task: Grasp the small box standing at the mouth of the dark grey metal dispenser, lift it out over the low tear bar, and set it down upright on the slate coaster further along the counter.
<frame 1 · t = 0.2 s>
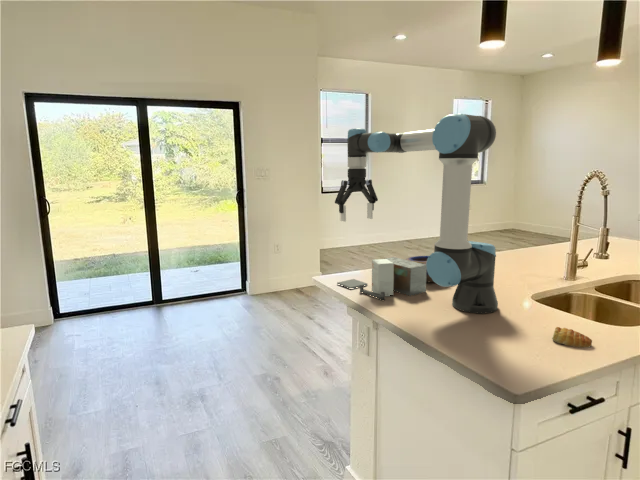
hand: (356, 219, 176), 27 cm above the counter, fingers open, 13 cm apart
small box: (382, 294, 166), on the counter
dispenser: (401, 288, 172), on the counter
bowl: (425, 280, 185), on the counter
coaster: (352, 285, 177), on the counter
pastry: (568, 343, 119), on the counter
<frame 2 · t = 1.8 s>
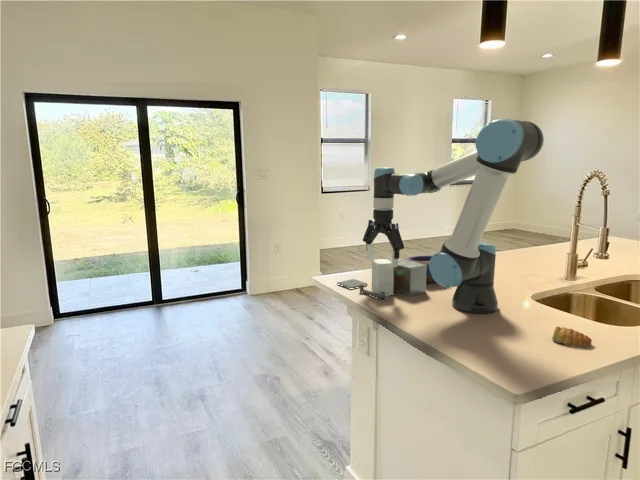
hand: (381, 263, 164), 12 cm above the counter, fingers open, 13 cm apart
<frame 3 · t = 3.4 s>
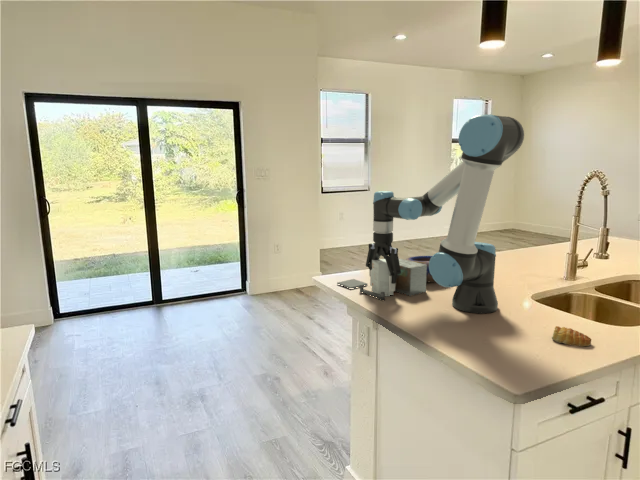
hand: (382, 288, 165), 2 cm above the counter, fingers closed on small box, 10 cm apart
small box: (382, 294, 166), on the counter, touching gripper
everything else where it was.
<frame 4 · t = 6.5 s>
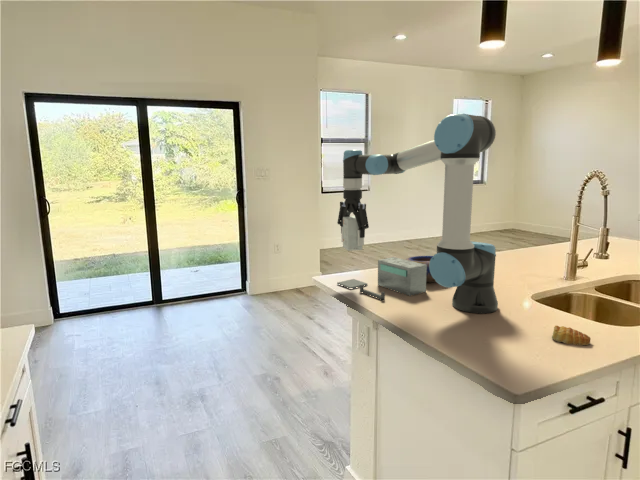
hand: (352, 243, 174), 18 cm above the counter, fingers closed on small box, 10 cm apart
small box: (352, 249, 175), point 16 cm above the counter, touching gripper
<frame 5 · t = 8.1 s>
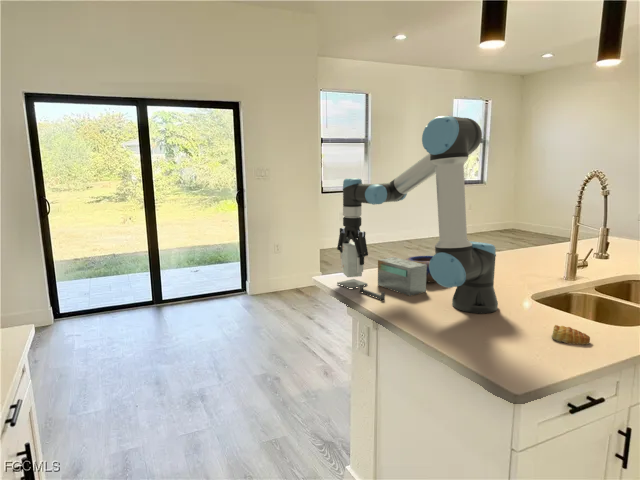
hand: (352, 269, 176), 7 cm above the counter, fingers closed on small box, 10 cm apart
small box: (352, 275, 177), point 4 cm above the counter, touching gripper
when the fingers open (5 cm above the counter, at t = 9.4 s): small box drops 1 cm, resting on coaster.
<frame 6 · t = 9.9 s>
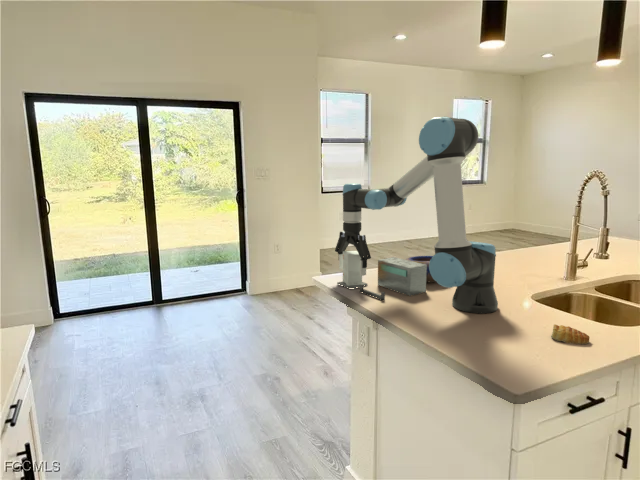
hand: (352, 272, 176), 6 cm above the counter, fingers open, 13 cm apart
small box: (352, 283, 177), point 1 cm above the counter, touching coaster
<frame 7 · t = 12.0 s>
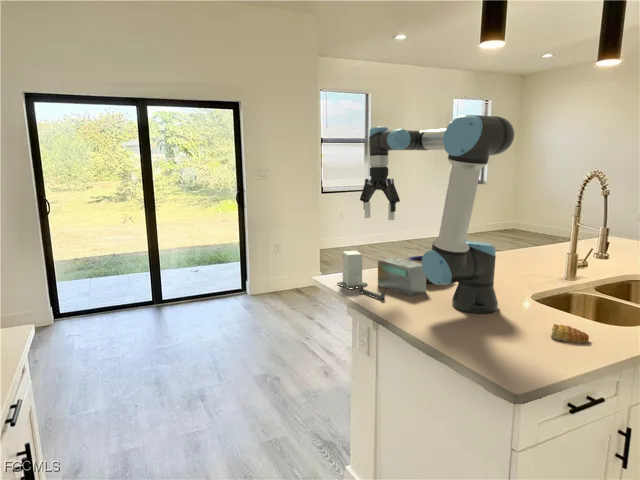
hand: (379, 219, 174), 28 cm above the counter, fingers open, 13 cm apart
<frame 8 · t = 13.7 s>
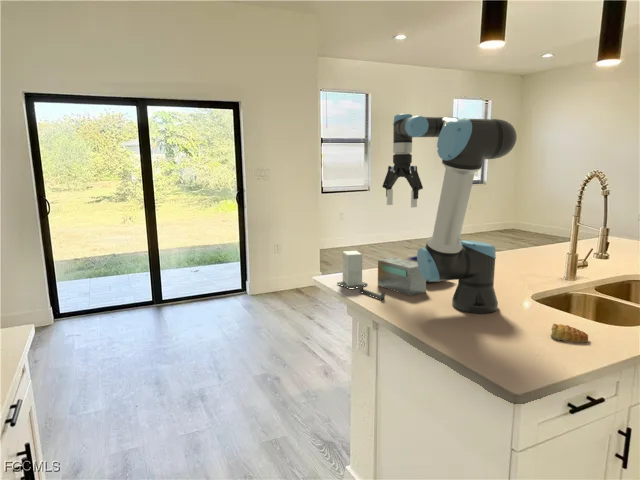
hand: (401, 206, 175), 33 cm above the counter, fingers open, 13 cm apart
at the end: small box inside the target area on the coaster (0.0 cm from its centre), point 0.8 cm above the coaster's base; small box tilted 0°; the gripper is holding nothing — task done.
